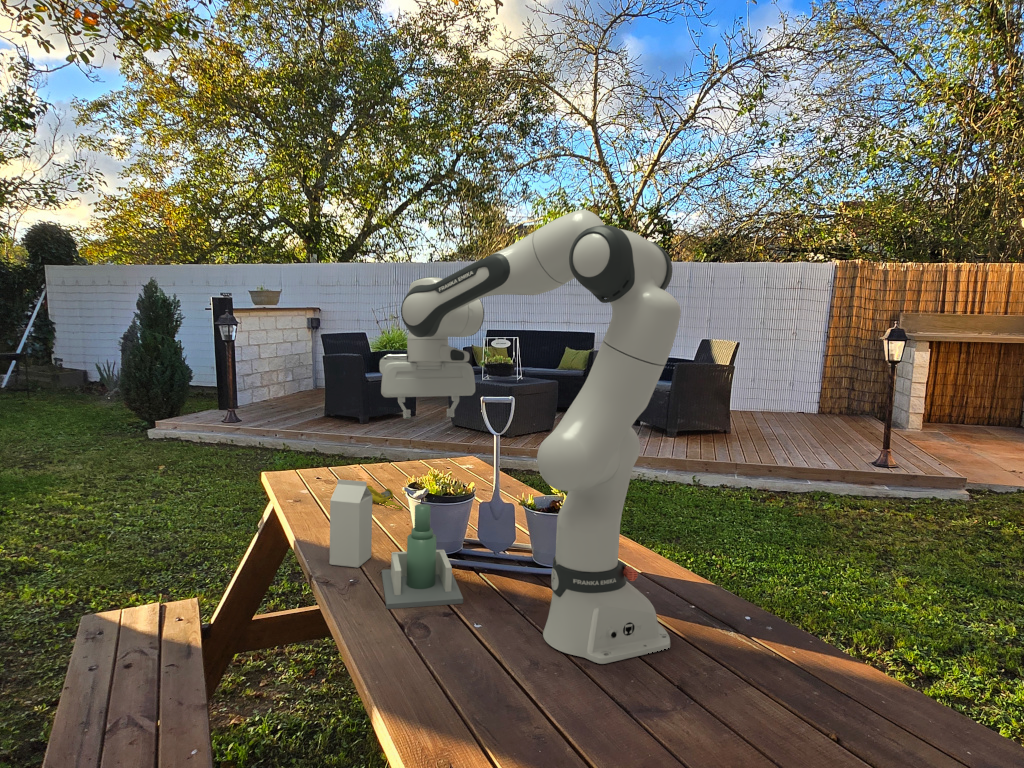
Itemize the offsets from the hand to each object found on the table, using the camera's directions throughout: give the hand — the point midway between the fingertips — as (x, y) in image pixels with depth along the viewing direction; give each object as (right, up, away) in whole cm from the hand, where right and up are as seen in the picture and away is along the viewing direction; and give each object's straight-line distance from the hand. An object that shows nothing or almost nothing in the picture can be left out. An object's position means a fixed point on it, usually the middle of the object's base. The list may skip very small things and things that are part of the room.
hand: (428, 417), depth 139 cm
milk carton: (-19, -34, +9) cm, 40 cm away
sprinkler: (-24, -30, +57) cm, 69 cm away
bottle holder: (-1, -36, -5) cm, 36 cm away
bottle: (-1, -35, -5) cm, 35 cm away
